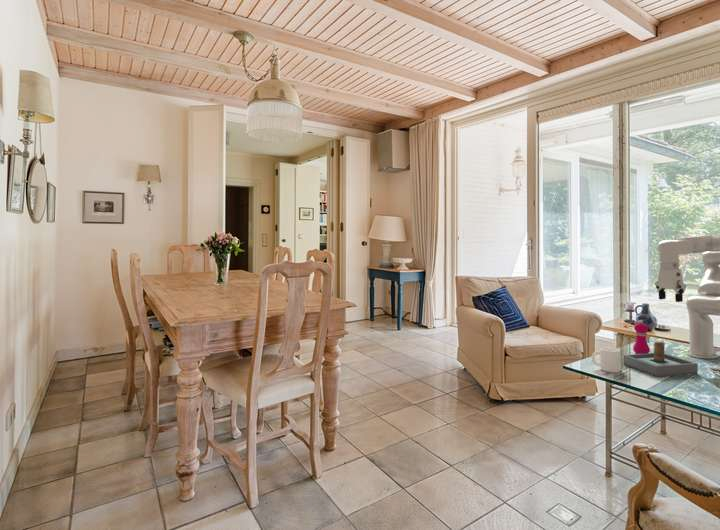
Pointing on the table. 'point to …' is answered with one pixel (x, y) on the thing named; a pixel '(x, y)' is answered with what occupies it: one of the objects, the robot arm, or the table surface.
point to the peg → (659, 352)
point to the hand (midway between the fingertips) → (670, 300)
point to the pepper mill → (641, 338)
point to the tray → (662, 368)
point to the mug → (608, 359)
